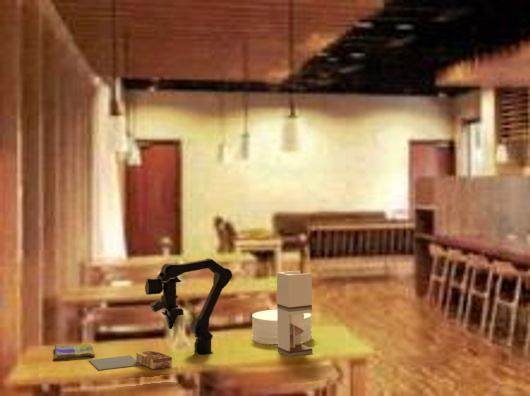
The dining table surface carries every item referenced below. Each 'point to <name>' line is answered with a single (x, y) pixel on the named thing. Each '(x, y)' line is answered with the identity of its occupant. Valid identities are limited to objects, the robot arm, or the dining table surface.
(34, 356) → the dining table surface
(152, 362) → the candy box
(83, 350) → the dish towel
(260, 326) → the plate stack
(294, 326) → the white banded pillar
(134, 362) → the mat
